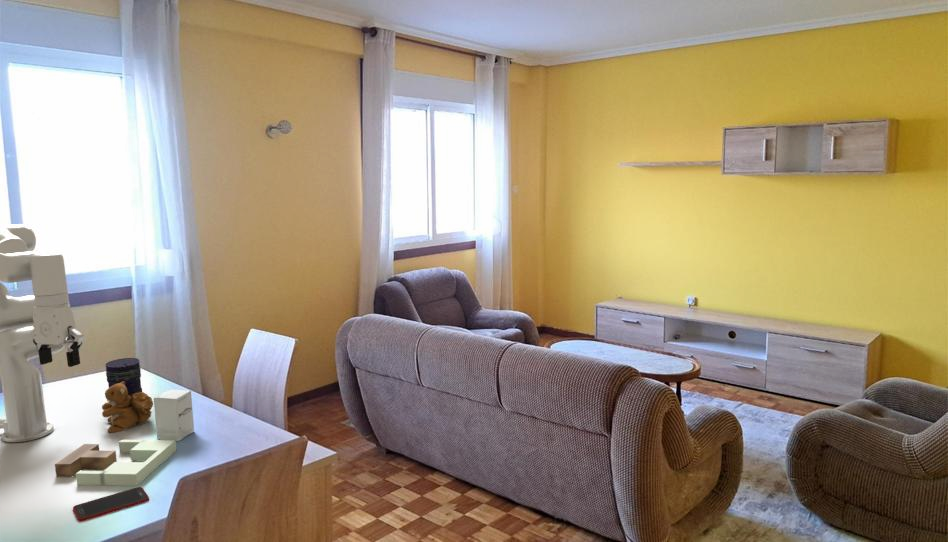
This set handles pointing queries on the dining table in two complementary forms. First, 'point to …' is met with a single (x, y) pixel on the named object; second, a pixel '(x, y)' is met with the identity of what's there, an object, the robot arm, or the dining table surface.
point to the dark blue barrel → (125, 374)
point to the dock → (131, 463)
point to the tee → (85, 460)
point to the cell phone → (110, 503)
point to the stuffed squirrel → (125, 408)
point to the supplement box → (173, 415)
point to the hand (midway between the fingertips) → (60, 364)
